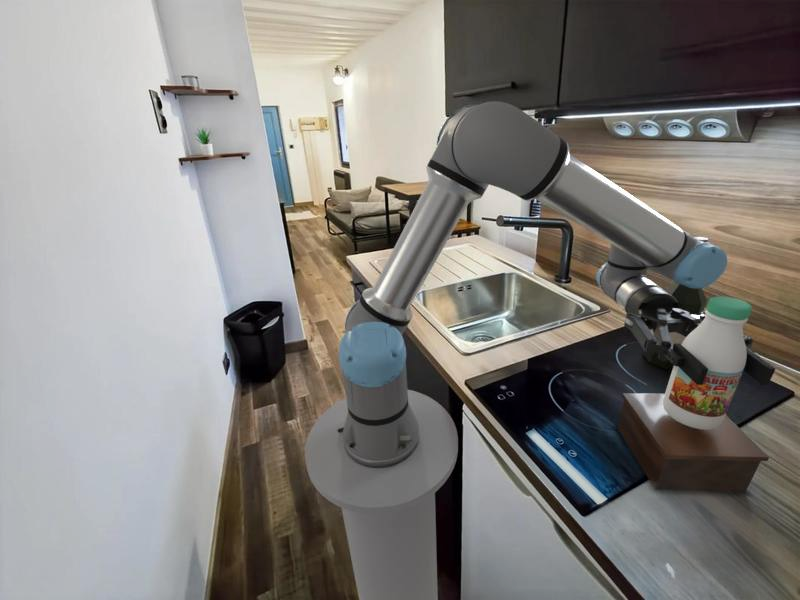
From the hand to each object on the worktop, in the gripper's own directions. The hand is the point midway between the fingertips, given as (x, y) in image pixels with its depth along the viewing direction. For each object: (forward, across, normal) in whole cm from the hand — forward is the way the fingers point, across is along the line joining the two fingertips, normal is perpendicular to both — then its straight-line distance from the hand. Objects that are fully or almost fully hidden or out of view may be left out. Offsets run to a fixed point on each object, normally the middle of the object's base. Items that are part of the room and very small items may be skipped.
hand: (735, 376), depth 50 cm
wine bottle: (-34, -14, -21) cm, 42 cm away
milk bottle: (-5, 0, -11) cm, 12 cm away
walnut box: (-5, 0, -21) cm, 21 cm away
